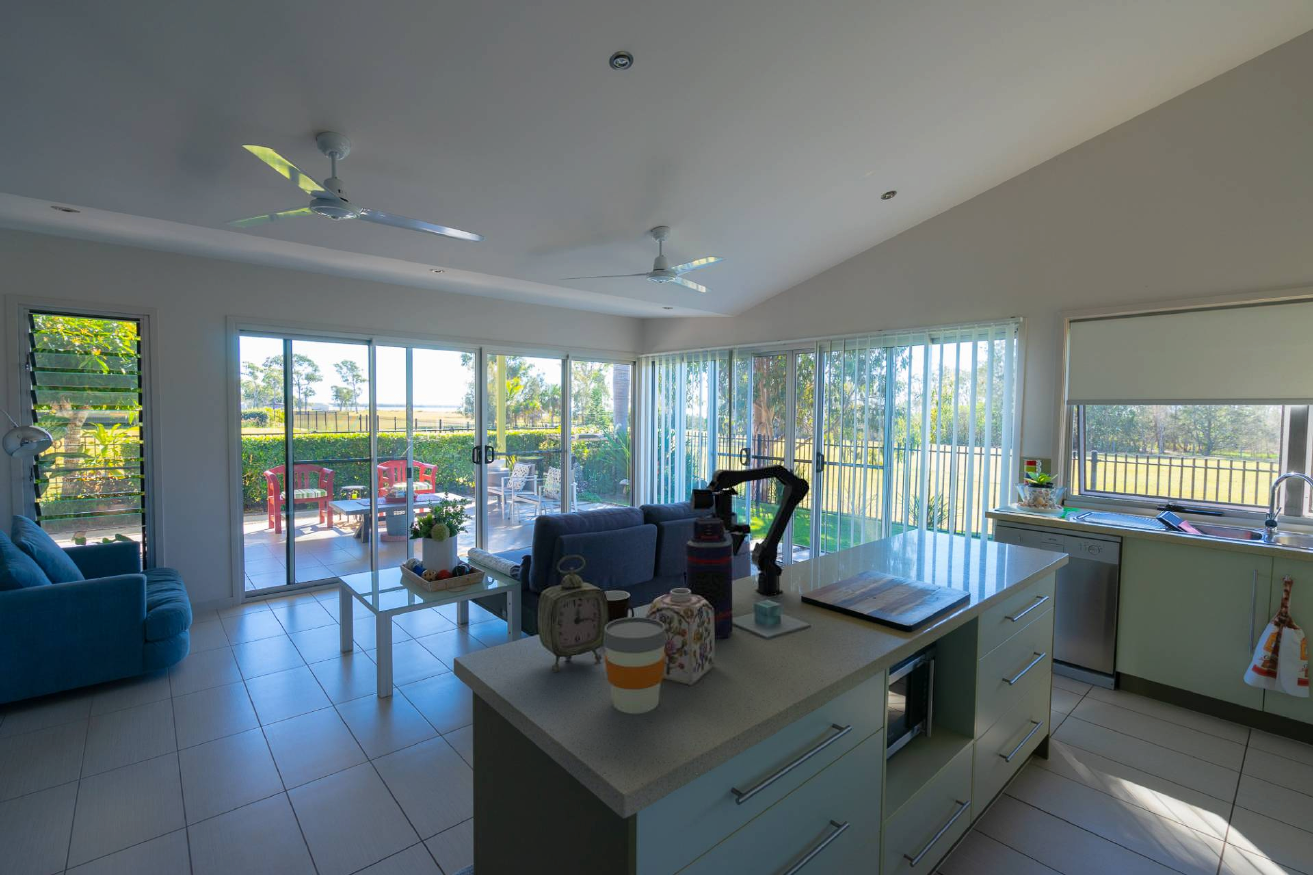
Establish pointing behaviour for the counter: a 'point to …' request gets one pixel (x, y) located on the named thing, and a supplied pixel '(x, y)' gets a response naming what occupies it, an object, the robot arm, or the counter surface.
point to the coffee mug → (618, 605)
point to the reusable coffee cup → (635, 662)
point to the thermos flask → (711, 570)
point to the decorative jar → (686, 634)
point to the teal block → (767, 612)
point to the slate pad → (770, 631)
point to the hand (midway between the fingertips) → (723, 557)
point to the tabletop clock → (572, 616)
